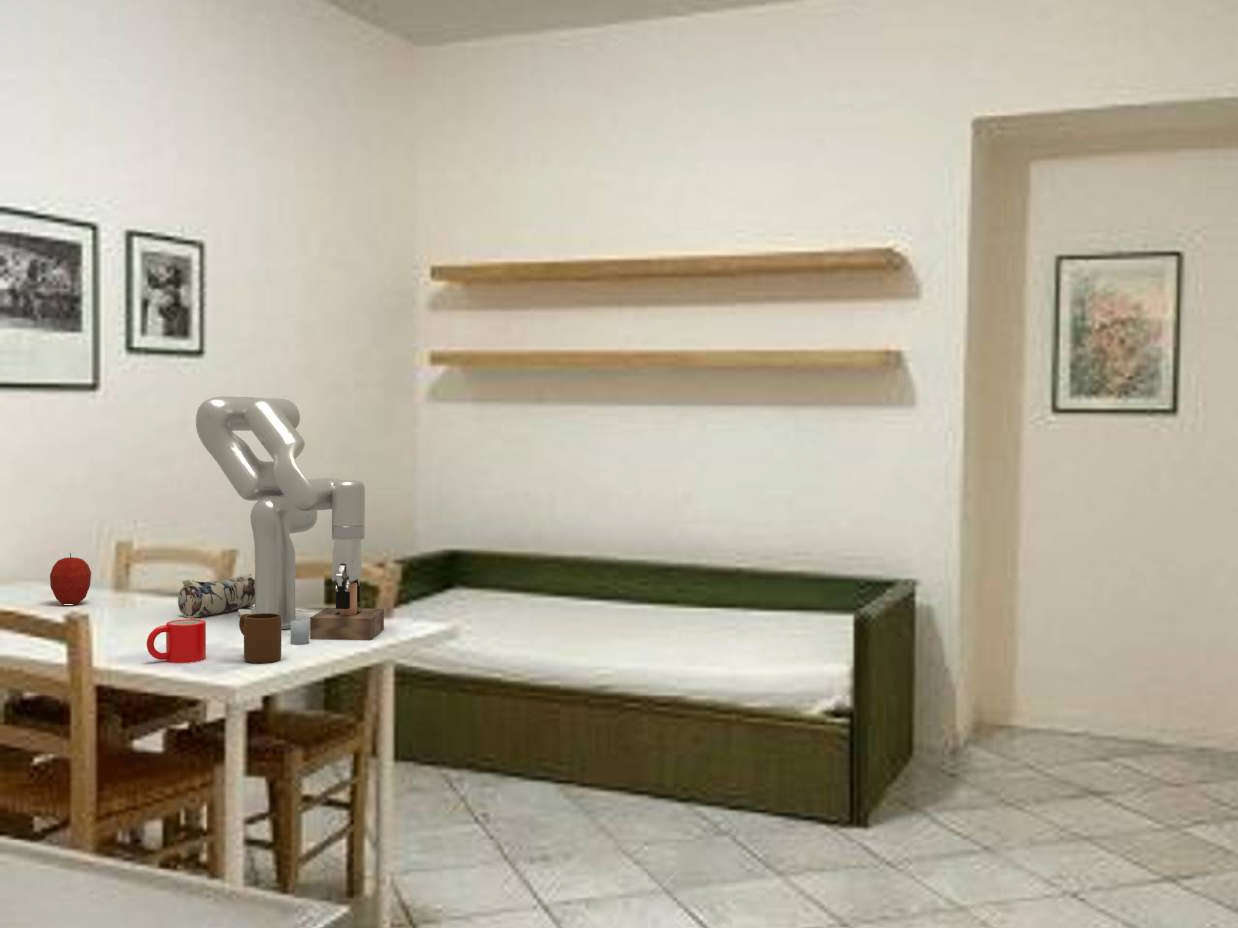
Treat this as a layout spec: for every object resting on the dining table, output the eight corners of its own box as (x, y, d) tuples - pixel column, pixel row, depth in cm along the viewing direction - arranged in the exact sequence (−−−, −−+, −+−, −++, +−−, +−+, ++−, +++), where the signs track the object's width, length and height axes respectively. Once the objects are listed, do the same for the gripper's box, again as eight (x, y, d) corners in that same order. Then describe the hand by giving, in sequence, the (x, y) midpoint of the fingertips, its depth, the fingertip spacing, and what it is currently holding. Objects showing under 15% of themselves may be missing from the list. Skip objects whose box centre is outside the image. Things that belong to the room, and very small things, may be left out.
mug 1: (140, 660, 257) (140, 623, 256) (197, 654, 265) (197, 617, 264) (154, 667, 251) (154, 628, 250) (211, 660, 258) (211, 622, 258)
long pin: (337, 635, 288) (337, 584, 288) (341, 632, 292) (341, 582, 292) (354, 635, 288) (354, 584, 287) (358, 632, 292) (358, 582, 291)
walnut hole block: (310, 639, 283) (310, 617, 283) (326, 628, 297) (326, 607, 297) (370, 640, 283) (370, 618, 283) (383, 629, 297) (384, 608, 297)
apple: (97, 604, 328) (97, 552, 327) (58, 608, 321) (58, 555, 320) (82, 600, 335) (82, 549, 335) (44, 604, 328) (43, 552, 327)
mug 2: (225, 657, 261) (225, 613, 261) (256, 652, 267) (256, 609, 267) (257, 665, 253) (257, 620, 253) (288, 660, 259) (288, 615, 259)
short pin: (288, 644, 276) (288, 622, 276) (293, 641, 280) (293, 619, 280) (306, 645, 276) (306, 622, 276) (310, 641, 280) (311, 619, 280)
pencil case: (199, 620, 307) (199, 581, 307) (175, 617, 311) (174, 578, 310) (262, 608, 326) (262, 571, 326) (238, 605, 330) (238, 569, 330)
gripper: (341, 529, 298) (341, 599, 298) (322, 536, 280) (322, 611, 281) (372, 529, 297) (372, 600, 298) (355, 536, 280) (355, 611, 281)
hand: (348, 605), depth 290 cm, fingers open, 9 cm apart
